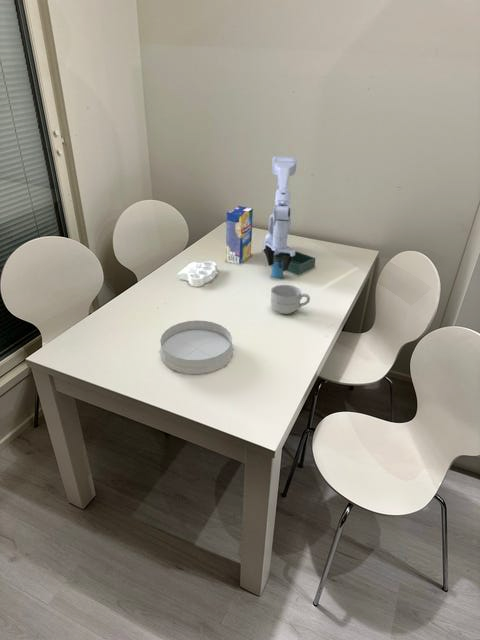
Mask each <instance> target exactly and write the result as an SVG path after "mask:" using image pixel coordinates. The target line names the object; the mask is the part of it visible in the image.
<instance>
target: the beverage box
mask: <svg viewBox="0 0 480 640" xmlns="http://www.w3.org/2000/svg"><path fill="white" fill-rule="evenodd" d="M253 211H254V209H253V208H252V207H247V206H241V205H237V206H236V207H233V208H232V209H231V210H229V211H227V212H226V237H225V238H226V241H225V242H226V243H225V244H226V245H225V250H226V251H225V260H226V261H225V262H228V263H232V264H241V263H244V261H245V260H246V259H248V258H249V257H251V256H252V240H253V239H252V238H253V237H252V236H253V217H254V215H253V213H254V212H253Z"/></svg>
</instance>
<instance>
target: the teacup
mask: <svg viewBox="0 0 480 640" xmlns="http://www.w3.org/2000/svg"><path fill="white" fill-rule="evenodd" d="M270 293H271V294H270V305H271V307H272V308H273V310H274V311H276V312H277V313H279V314H284V315H289V314H292V313H294V312H296V311H297V310H298V309H300V308H301V307H305V306H306V305H308V304H309V303H310V300H311V297H310V295H309V294H308V293H302V290H301V289H300V288H299V287H297V286H295V285H290V284H278V285H274V286H272V288H271V289H270ZM302 298H306V301H304V302H301V300H302Z"/></svg>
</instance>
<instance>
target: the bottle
mask: <svg viewBox="0 0 480 640" xmlns="http://www.w3.org/2000/svg"><path fill="white" fill-rule="evenodd" d="M281 262H282V258H275V263H274V264H273V265H271V278H273V279H275V280H276V279H282V278H283V277H284V271H283V264H282V263H281Z"/></svg>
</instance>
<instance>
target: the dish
mask: <svg viewBox="0 0 480 640" xmlns="http://www.w3.org/2000/svg"><path fill="white" fill-rule="evenodd" d="M159 342H160V348H159V349H160V357H161V361H162V362H163V364H164V365H165V366H166V367H168V368H169V369H170V370H172V371H175V372H177V373H180V374H186V375H205V374H210V373H212V372H216V371H219V370H220V369H222V368H224V367H226V365H227V364H228V363H229V362H231V359H232V357H233V336H232V334H231V332H230V331H229V330H228V329H227V328H226V327H225V326H223V325H221V324H218V323H216V322H213V321H207V320H187V321H183V322H179V323H177V324H174V325H172V326H170V327H169V328H167V329H166V330H165V331H164V332H163V333H162V335H161V337H160V341H159Z"/></svg>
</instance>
